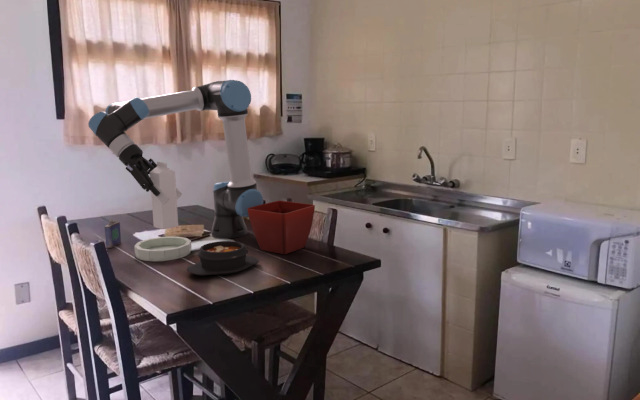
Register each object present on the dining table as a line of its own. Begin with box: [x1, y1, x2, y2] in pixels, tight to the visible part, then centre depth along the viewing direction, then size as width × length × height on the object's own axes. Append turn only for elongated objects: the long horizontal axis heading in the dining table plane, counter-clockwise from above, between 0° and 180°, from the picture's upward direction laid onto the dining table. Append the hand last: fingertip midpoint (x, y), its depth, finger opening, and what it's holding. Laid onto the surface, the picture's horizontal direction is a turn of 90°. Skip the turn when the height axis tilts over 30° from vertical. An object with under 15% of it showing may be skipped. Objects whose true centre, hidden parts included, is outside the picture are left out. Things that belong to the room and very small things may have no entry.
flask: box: [104, 219, 122, 249], centre depth 211 cm, size 9×3×11 cm, turn 172°
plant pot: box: [247, 200, 316, 255], centre depth 203 cm, size 19×19×17 cm
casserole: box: [186, 240, 260, 277], centre depth 179 cm, size 25×19×8 cm
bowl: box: [133, 236, 192, 262], centre depth 200 cm, size 20×20×4 cm
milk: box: [149, 161, 179, 230], centre depth 177 cm, size 6×6×22 cm
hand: (173, 199), depth 177 cm, fingers closed on milk, 8 cm apart
